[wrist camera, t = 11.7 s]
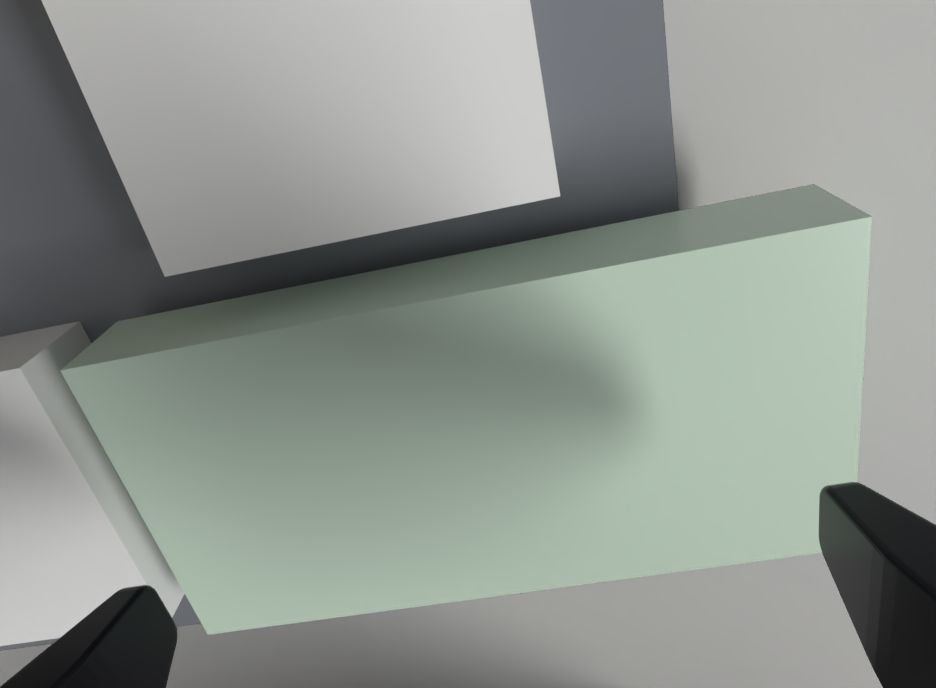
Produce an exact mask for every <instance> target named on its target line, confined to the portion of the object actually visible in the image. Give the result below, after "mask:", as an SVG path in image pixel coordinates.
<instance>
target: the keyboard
mask: <svg viewBox="0 0 936 688" xmlns="http://www.w3.org/2000/svg"><path fill="white" fill-rule="evenodd" d="M675 211H679V207H678V194H677V181H676V167H675V154H674V141H673V128H672V115H671V102H670V88H669V75H668V62H667V49H666V36H665V23H664V10H663V0H0V651H1V650H9V649H16V648H23V647H31V646H38V645H45V644H53V643H54V642H55V641H57V640H58V639H59V638H60V637H62V636H63V635H64V634H65V633H66V632H68V631H69V630H70V629H71V628H73V627H74V626H75V625H76V624H77V623H79V622H80V621H81V620H82V619H84V618H85V617H86V616H87V615H88V614H90V613H91V612H92V611H93V610H95V609H96V608H97V607H98V606H99V605H101V604H102V603H103V602H104V601H106V600H107V599H108V598H109V597H110V596H112V595H113V594H114V593H115V592H117V591H118V590H120V589H123V588H127V587H134V586H141V585H149V586H151V587H153V588H154V589H155V590H156V591H157V593H158V595H159V596H160V598H161V600H162V601H163V603H164V605H165V607H166V608H167V610H168V612H169V613H170V615H171V617H172V618H173V620H174V622H175V624H176V627H178V626H185V625H192V624H200V623H201V622H200V620H199V618H198V616H197V615H196V613H195V611H194V609H193V608H192V606H191V604H190V602H189V600H188V599H187V597H186V595H185V593H184V591H183V590H182V588H181V586H180V584H179V582H178V581H177V579H176V577H175V575H174V573H173V572H172V570H171V568H170V566H169V565H168V563H167V561H166V559H165V557H164V556H163V554H162V552H161V550H160V548H159V547H158V545H157V543H156V541H155V539H154V538H153V536H152V534H151V532H150V531H149V529H148V527H147V525H146V523H145V522H144V520H143V518H142V516H141V514H140V513H139V511H138V509H137V507H136V505H135V504H134V502H133V500H132V498H131V496H130V495H129V493H128V491H127V489H126V488H125V486H124V484H123V482H122V480H121V479H120V477H119V475H118V473H117V471H116V470H115V468H114V466H113V464H112V462H111V461H110V459H109V457H108V455H107V454H106V452H105V450H104V448H103V446H102V445H101V443H100V441H99V439H98V437H97V436H96V434H95V432H94V430H93V428H92V427H91V425H90V423H89V421H88V419H87V418H86V416H85V414H84V412H83V411H82V409H81V407H80V405H79V403H78V402H77V400H76V398H75V396H74V394H73V393H72V391H71V389H70V387H69V385H68V384H67V382H66V380H65V378H64V377H63V375H62V373H61V371H60V370H61V369H63V368H64V367H65V366H66V365H67V364H68V363H69V362H71V361H72V360H73V359H74V358H75V357H76V356H78V355H79V354H80V353H81V352H82V351H83V350H85V349H86V348H87V347H88V346H89V345H90V344H92V343H93V342H94V341H95V340H96V339H97V338H99V337H100V336H101V335H102V334H103V333H104V332H106V331H107V330H108V329H109V328H110V327H111V326H112V325H114V324H115V323H116V322H117V321H121V320H127V319H132V318H137V317H142V316H147V315H152V314H157V313H162V312H167V311H172V310H177V309H182V308H187V307H193V306H198V305H203V304H208V303H213V302H218V301H223V300H228V299H233V298H238V297H243V296H248V295H253V294H259V293H264V292H269V291H274V290H279V289H284V288H289V287H294V286H299V285H304V284H309V283H314V282H319V281H325V280H330V279H335V278H340V277H345V276H350V275H355V274H360V273H365V272H370V271H375V270H380V269H385V268H391V267H396V266H401V265H406V264H411V263H416V262H421V261H426V260H431V259H436V258H441V257H446V256H451V255H457V254H462V253H467V252H472V251H477V250H482V249H487V248H492V247H497V246H502V245H507V244H512V243H517V242H523V241H528V240H533V239H538V238H543V237H548V236H553V235H558V234H563V233H568V232H573V231H578V230H583V229H589V228H594V227H599V226H604V225H609V224H614V223H619V222H624V221H629V220H634V219H639V218H644V217H649V216H655V215H660V214H665V213H670V212H675Z"/></svg>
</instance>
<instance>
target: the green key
mask: <svg viewBox="0 0 936 688" xmlns="http://www.w3.org/2000/svg"><path fill="white" fill-rule="evenodd" d="M871 227H872V216H870V215H868V214H866V213H865V212H863V211H861V210H859V209H857V208H856V207H854V206H852V205H850V204H848V203H847V202H845V201H843V200H841V199H840V198H838V197H836V196H834V195H832V194H831V193H829V192H827V191H825V190H823V189H822V188H820V187H818V186H816V185H814V184H812V185H807V186H802V187H797V188H792V189H787V190H782V191H776V192H771V193H766V194H761V195H756V196H751V197H746V198H741V199H736V200H731V201H726V202H721V203H716V204H710V205H705V206H700V207H695V208H690V209H685V210H680V211H675V212H670V213H665V214H660V215H655V216H649V217H644V218H639V219H634V220H629V221H624V222H619V223H614V224H609V225H604V226H599V227H594V228H589V229H583V230H578V231H573V232H568V233H563V234H558V235H553V236H548V237H543V238H538V239H533V240H528V241H523V242H517V243H512V244H507V245H502V246H497V247H492V248H487V249H482V250H477V251H472V252H467V253H462V254H457V255H451V256H446V257H441V258H436V259H431V260H426V261H421V262H416V263H411V264H406V265H401V266H396V267H391V268H385V269H380V270H375V271H370V272H365V273H360V274H355V275H350V276H345V277H340V278H335V279H330V280H325V281H319V282H314V283H309V284H304V285H299V286H294V287H289V288H284V289H279V290H274V291H269V292H264V293H259V294H253V295H248V296H243V297H238V298H233V299H228V300H223V301H218V302H213V303H208V304H203V305H198V306H193V307H187V308H182V309H177V310H172V311H167V312H162V313H157V314H152V315H147V316H142V317H137V318H132V319H127V320H121V321H117V322H116V323H115V324H114V325H112V326H111V327H110V328H109V329H108V330H107V331H106V332H104V333H103V334H102V335H101V336H100V337H99V338H97V339H96V340H95V341H94V342H93V343H92V344H90V345H89V346H88V347H87V348H86V349H85V350H83V351H82V352H81V353H80V354H79V355H78V356H76V357H75V358H74V359H73V360H72V361H71V362H69V363H68V364H67V365H66V366H65V367H64V368H63V369H61V370H60V371H61V373H62V375H63V377H64V378H65V380H66V382H67V384H68V385H69V387H70V389H71V391H72V393H73V394H74V396H75V398H76V400H77V402H78V403H79V405H80V407H81V409H82V411H83V412H84V414H85V416H86V418H87V419H88V421H89V423H90V425H91V427H92V428H93V430H94V432H95V434H96V436H97V437H98V439H99V441H100V443H101V445H102V446H103V448H104V450H105V452H106V454H107V455H108V457H109V459H110V461H111V462H112V464H113V466H114V468H115V470H116V471H117V473H118V475H119V477H120V479H121V480H122V482H123V484H124V486H125V488H126V489H127V491H128V493H129V495H130V496H131V498H132V500H133V502H134V504H135V505H136V507H137V509H138V511H139V513H140V514H141V516H142V518H143V520H144V522H145V523H146V525H147V527H148V529H149V531H150V532H151V534H152V536H153V538H154V539H155V541H156V543H157V545H158V547H159V548H160V550H161V552H162V554H163V556H164V557H165V559H166V561H167V563H168V565H169V566H170V568H171V570H172V572H173V573H174V575H175V577H176V579H177V581H178V582H179V584H180V586H181V588H182V590H183V591H184V593H185V595H186V597H187V599H188V600H189V602H190V604H191V606H192V608H193V609H194V611H195V613H196V615H197V616H198V618H199V620H200V622H201V624H202V625H203V627H204V629H205V631H206V633H207V634H208V635H210V634H218V633H225V632H233V631H240V630H248V629H255V628H263V627H270V626H278V625H285V624H293V623H300V622H307V621H315V620H322V619H330V618H337V617H345V616H352V615H360V614H367V613H375V612H382V611H390V610H397V609H405V608H412V607H420V606H427V605H435V604H442V603H450V602H457V601H465V600H472V599H480V598H487V597H495V596H502V595H510V594H517V593H525V592H532V591H540V590H547V589H554V588H562V587H569V586H577V585H584V584H592V583H599V582H607V581H614V580H622V579H629V578H637V577H644V576H652V575H659V574H667V573H674V572H682V571H689V570H697V569H704V568H712V567H719V566H727V565H734V564H742V563H749V562H757V561H764V560H772V559H779V558H787V557H794V556H802V555H809V554H816V553H822V550H821V547H820V543H819V497H820V492H821V489H822V488H823V487H825V486H827V485H834V484H841V483H848V482H857V477H858V459H859V441H860V423H861V406H862V388H863V370H864V352H865V334H866V316H867V298H868V280H869V262H870V245H871Z"/></svg>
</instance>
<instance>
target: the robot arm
mask: <svg viewBox="0 0 936 688" xmlns="http://www.w3.org/2000/svg"><path fill="white" fill-rule="evenodd" d="M819 543H820V547H821V550H822V553H823V556H824V558H825V561H826V563H827V565H828V567H829V570H830V572H831V574H832V577H833V579H834V581H835V583H836V586H837V588H838V590H839V593H840V595H841V597H842V599H843V602H844V604H845V606H846V609H847V611H848V613H849V615H850V618H851V620H852V622H853V625H854V627H855V629H856V631H857V634H858V636H859V638H860V641H861V643H862V645H863V647H864V650H865V652H866V654H867V656H868V659H869V661H870V663H871V665H872V667H873V669H874V671H875V673H876V675H877V677H878V679H879V681H880V683H881V684H882V686H883V688H936V525H935V524H933V523H931V522H929V521H928V520H926V519H924V518H922V517H920V516H919V515H917V514H915V513H913V512H911V511H910V510H908V509H906V508H904V507H902V506H901V505H899V504H897V503H895V502H893V501H892V500H890V499H888V498H886V497H884V496H883V495H881V494H879V493H877V492H875V491H874V490H872V489H870V488H868V487H866V486H865V485H863V484H860V483H857V482H848V483H841V484H834V485H827V486H825V487H823V488H822V489H821V492H820V497H819ZM176 643H177V628H176V624H175V622H174V620H173V618H172V617H171V615H170V613H169V612H168V610H167V608H166V607H165V605H164V603H163V601H162V600H161V598H160V596H159V595H158V593H157V591H156V590H155V589H154V588H153V587H151V586H149V585H141V586H134V587H127V588H123V589H120V590H118V591H117V592H115V593H114V594H113V595H112V596H110V597H109V598H108V599H107V600H106V601H104V602H103V603H102V604H101V605H99V606H98V607H97V608H96V609H95V610H93V611H92V612H91V613H90V614H88V615H87V616H86V617H85V618H84V619H82V620H81V621H80V622H79V623H77V624H76V625H75V626H74V627H73V628H71V629H70V630H69V631H68V632H66V633H65V634H64V635H63V636H62V637H60V638H59V639H58V640H57V641H55V642H54V643H53V644H52V645H51V646H49V647H48V648H47V649H46V650H44V651H43V652H42V653H41V654H40V655H38V656H37V657H36V658H35V659H33V660H32V661H31V662H30V663H29V664H27V665H26V666H25V667H24V668H22V669H21V670H20V671H19V672H18V673H16V674H15V675H14V676H13V677H11V678H10V679H9V680H8V681H7V682H5V683H4V684H3V685H2V686H0V688H166V684H167V680H168V676H169V672H170V668H171V664H172V660H173V655H174V651H175V647H176Z"/></svg>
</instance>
